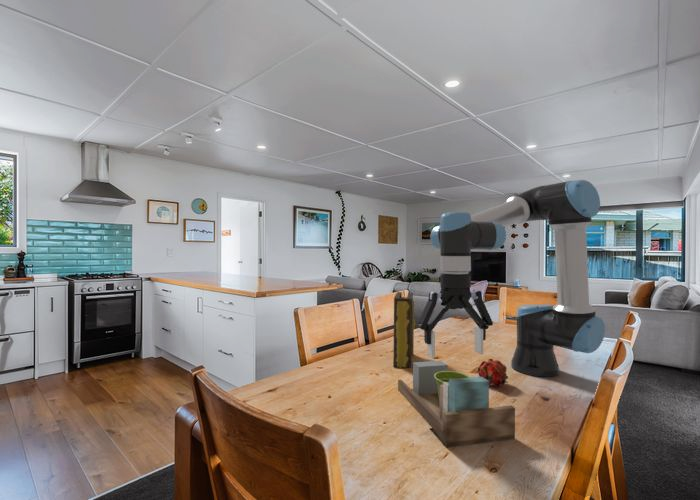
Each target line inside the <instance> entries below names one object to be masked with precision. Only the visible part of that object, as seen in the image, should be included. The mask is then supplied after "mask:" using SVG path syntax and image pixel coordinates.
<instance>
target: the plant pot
mask: <svg viewBox="0 0 700 500" xmlns="http://www.w3.org/2000/svg"><path fill="white" fill-rule="evenodd" d="M470 377H471V376H469V375H468V374H465V373H463V372H460V371H452V370H448V371H441V372H437V373H435V374H434V378H435V379H436V383H437V386H438V394H439V403H440V385H443V382H449V379H458V378H470Z"/></svg>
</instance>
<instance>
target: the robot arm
mask: <svg viewBox="0 0 700 500" xmlns="http://www.w3.org/2000/svg"><path fill="white" fill-rule="evenodd" d="M600 208H601V199H600V195H599V192H598V190H597V188H596V187H595V186H594V184H593V183H591V182H590V181H588V180H584V179H576V180H567V181H563V182H558V183H557V182H556V183H552V184H546V185H545V184H544V185H539V186H536V187H533V188H531V189H528V190H526V191H523V192H520V193H518V194H517V195H514V196H511V197H509V198H507V200H506V201H505V202H504V203H503V202H502V203H501V204H498V205H496V206H493V207H490V208H487V209H485V210H482V211H479V212H477V213H474V214H471V213H469V212H467V211H464V212H463V211H452V212H445V213H443V214H442V215H440V221H439V222H440V225H439V224H438V225H436V226H435V227H433V229H431V232H430V243H431V245H432V246H433V247H435V248H436V249H440V251H439V252H440V262H439V263H440V269H439V270H440V271H441V273H440V275H439V276H440V279H439V280H440V281H439V282H440V292H435V291H429V292H428V300H427V302H426V305H425V306H424V309H423V312H422V313H421V316H420V317H419V320H418V322H417V324H416V327H417V328H418V329H420V330H423V331H424V333H423V335H424V339H423V341H424V343H425V344H426V346H427V350H426V351H427V356H429V357H430V358H431V359H435V358H436V332H435V331H433V330H434V329H435V328H436V326H437V325H438V323H439V322H440V321H441V319H443V316H444V315H445V313H446V312H448V311H449V310H456V309H459V310H463V309H464V310H465V312H466V313H467V314H468V315H469V316H470V318H471V319H472V321H473V322H474V323H475V324H476V325H477V326H475V327H474V352H475V353H477V354H479V355H484V341H486V339H487V336H486V335H487V334H486V333H487V331H486V330H488V329H489V327H491V326H493V325H494V322H493V320H492V318H491V315H490V313H489V311H488V309H487V307H486V305H485V302H484V300H483V294H482V291H481V290H476V289H473V290H471V289H470V288H471V286H472V282H471V280H472V278H471V277H472V275H471V274H470V272H471V271H472V263H471V261H472V259H471V258H472V257H471V254H472V250H490V251H491V250H497V249H499V248H501V247H503V246H504V244H505V242H506V240H507V231H506V229H505V228H506V227H509V226H511V225H513V224H516V225H518V224H519V225H520V224H524V223H525V222H533V221H535V222H536V221H548V226H549V227H550V228H552V229H553V233H554V249H555V271H556V292H557V293H556V294H557V296H556V297H557V303H556V304H554V305H551V304H527V305H520V306H518V307H517V311H516V312H517V313H516V314H517V315H516V317H515V318H516V346H515V349H514V353H513V357H511V361H510V363H511V364H510V365H511V366H510V367H511V368H512V369H513V370H514V371H517V372H519V373H522V374H526V375H528V376H529V375H530V376H534V377H545V378H546V377H547V378H548V377H555V376H558V375H559V374H560V365H559V363H558V361H557V358H556V354H555V350H554V346H555V347H559V348H563V349H567V350H570V351H573V352H576V353H577V352H579V353H584V354H591V353H594V352H596V351H598V349H599V348H600V346H601V344H602V343H603V342H604V338H605V334H606V323H605V322H604V320H603V319H602V318H600V317H599V316H596V315H597V314H596V309H595V308H594V307H593V306H592V305H591V304H590V296H589V295H590V291H589V289H590V288H589V268H588V267H589V265H588V247H587V246H588V243H587V242H588V241H587V240H588V239H587V228H588V227H589V226H591V224H592V223H593V221H592V218H594V217H595V216H597V215H598V213H599V212H600ZM470 299H472V300H473V303H474V305H475V307H476V309H477V311H476V310H475V309H474V306H473V305H472V304H471V302H470ZM439 300H441V301H440V303H439V304H438V305H437V302H438V301H439ZM436 305H437V308H436ZM435 308H436V310H435V311H434V309H435ZM478 313H479V314H478Z"/></svg>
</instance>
